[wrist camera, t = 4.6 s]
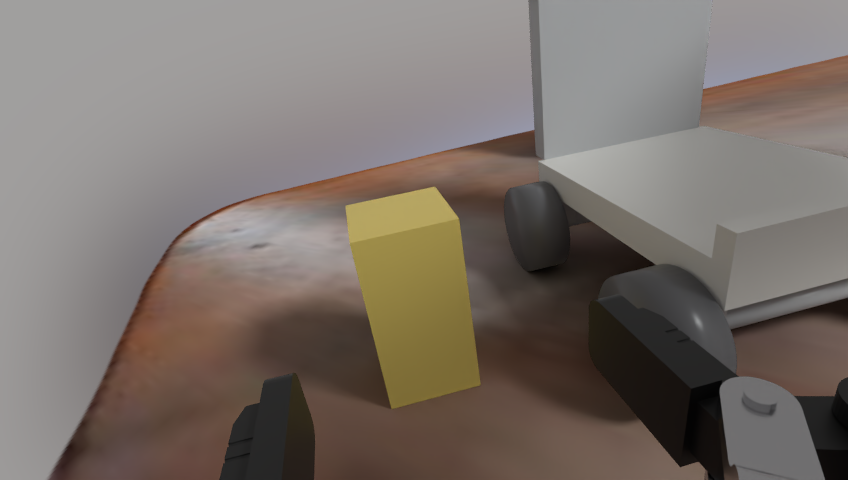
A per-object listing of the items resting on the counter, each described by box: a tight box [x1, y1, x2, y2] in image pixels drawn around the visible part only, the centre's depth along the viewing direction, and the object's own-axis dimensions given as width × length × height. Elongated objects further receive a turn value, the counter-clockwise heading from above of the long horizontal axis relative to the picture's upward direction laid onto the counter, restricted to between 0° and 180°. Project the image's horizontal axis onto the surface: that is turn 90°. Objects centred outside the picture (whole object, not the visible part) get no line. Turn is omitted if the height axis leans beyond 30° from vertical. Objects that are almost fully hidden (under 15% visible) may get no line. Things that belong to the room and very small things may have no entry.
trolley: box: [504, 0, 848, 374], centre depth 26 cm, size 21×19×20 cm
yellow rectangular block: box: [346, 187, 481, 409], centre depth 24 cm, size 5×5×10 cm
